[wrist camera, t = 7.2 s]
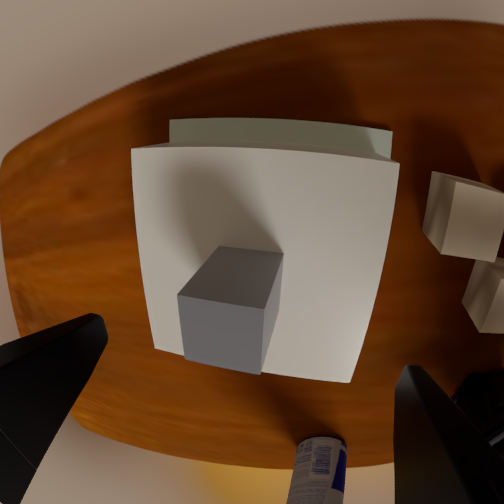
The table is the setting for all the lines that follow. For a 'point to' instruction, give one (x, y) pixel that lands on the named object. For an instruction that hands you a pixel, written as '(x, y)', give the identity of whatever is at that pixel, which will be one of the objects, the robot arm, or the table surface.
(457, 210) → the token cube
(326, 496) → the beverage can
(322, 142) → the mat
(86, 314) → the robot arm
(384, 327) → the table surface
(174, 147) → the cover
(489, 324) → the token cube
